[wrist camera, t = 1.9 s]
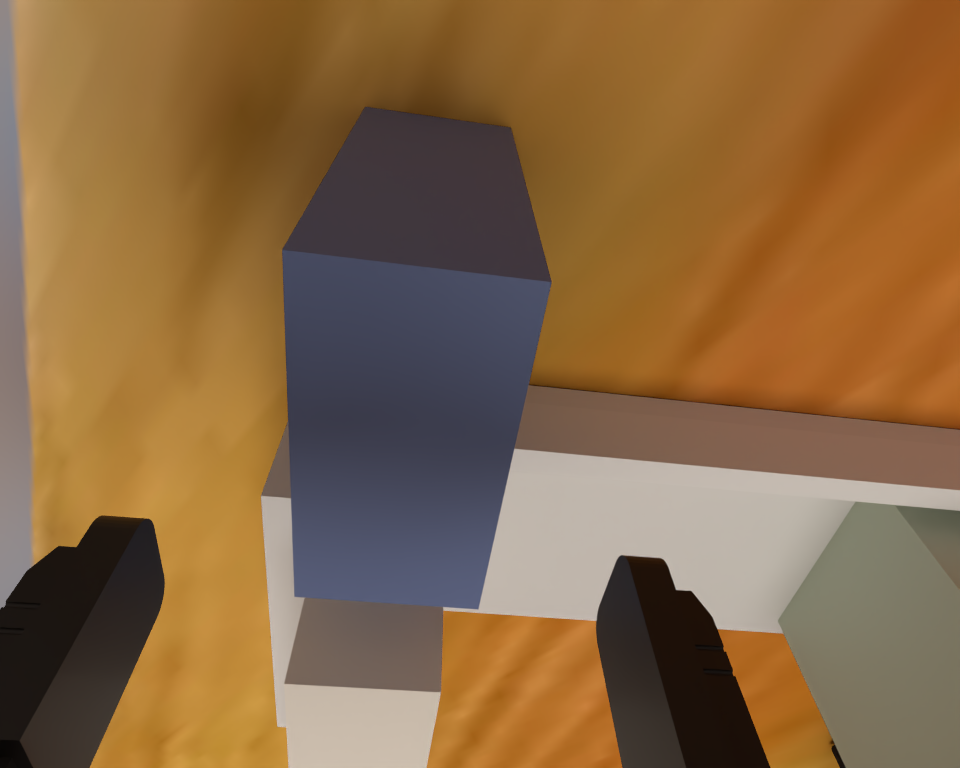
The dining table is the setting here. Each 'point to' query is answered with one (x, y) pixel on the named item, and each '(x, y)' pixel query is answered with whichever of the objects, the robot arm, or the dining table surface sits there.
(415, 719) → the ivory book
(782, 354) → the dining table surface
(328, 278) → the navy book
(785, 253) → the dining table surface
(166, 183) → the dining table surface
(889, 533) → the sage book
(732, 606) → the shelf board
